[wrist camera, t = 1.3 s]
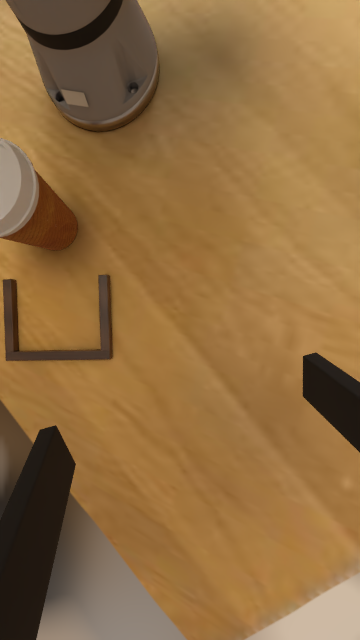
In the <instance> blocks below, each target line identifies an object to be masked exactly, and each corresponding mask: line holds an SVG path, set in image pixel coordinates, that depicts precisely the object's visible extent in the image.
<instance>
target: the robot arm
mask: <svg viewBox="0 0 360 640" xmlns="http://www.w3.org/2000/svg"><path fill="white" fill-rule="evenodd" d="M6 1H7V3H8V5H9V6H10V8H11V9H12V11H13V12H14V14H15V15H16V17H17V19H18V20H19V22H20V23H21V25H22V27H23V28H24V30H25V32H26V33H27V36H28V39H29V42H30V45H31V48H32V51H33V54H34V57H35V59H36V62H37V65H38V68H39V71H40V74H41V77H42V80H43V83H44V86H45V88H46V90H47V92H48V94H49V96H50V98H51V99H52V101H53V102H54V104H55V105H56V107H57V108H58V110H59V111H60V112H61V113H62V115H63V116H64V117H65V118H66V119H67V120H69V121H70V122H71V123H73V124H74V125H76V126H78V127H81V128H83V129H87V130H91V131H108V130H113V129H116V128H119V127H121V126H124V125H126V124H127V123H129V122H131V121H132V120H133V119H135V118H136V117H137V116H138V115H139V114H140V113H141V112H142V111H143V110H144V109H145V108H146V106H147V105H148V103H149V102H150V100H151V98H152V96H153V94H154V92H155V90H156V86H157V83H158V78H159V59H158V53H157V47H156V42H155V38H154V35H153V32H152V30H151V28H150V25H149V23H148V21H147V19H146V17H145V15H144V13H143V11H142V9H141V7H140V5H139V3H138V1H137V0H6ZM303 397H304V398H305V399H306V400H307V401H308V402H309V403H310V404H311V405H312V406H313V407H314V408H315V409H316V410H317V411H318V412H319V413H320V414H321V415H322V416H323V417H324V418H325V419H326V420H327V421H328V422H329V423H330V424H332V425H333V426H334V427H335V428H336V429H337V430H338V431H339V432H340V433H341V434H342V435H343V436H344V437H345V438H346V439H347V440H348V441H349V442H350V443H351V444H352V445H353V446H354V447H355V448H356V449H357V450H358V451H359V452H360V382H359V381H357V380H356V379H354V378H353V377H351V376H350V375H348V374H347V373H345V372H344V371H342V370H341V369H340V368H338V367H337V366H335V365H334V364H332V363H331V362H329V361H328V360H326V359H325V358H323V357H322V356H320V355H319V354H318V353H312V354H309V355H305V356H303ZM75 465H76V464H75V462H74V460H73V458H72V456H71V454H70V452H69V450H68V448H67V446H66V444H65V442H64V440H63V438H62V436H61V434H60V432H59V430H58V428H57V426H52V427H48V428H45V429H41V430H40V431H39V433H38V435H37V438H36V440H35V442H34V445H33V447H32V449H31V451H30V454H29V456H28V458H27V461H26V463H25V465H24V467H23V470H22V472H21V474H20V477H19V479H18V481H17V483H16V486H15V488H14V490H13V493H12V495H11V497H10V499H9V501H8V504H7V506H6V508H5V511H4V513H3V515H2V517H1V520H0V640H36V638H37V633H38V629H39V624H40V620H41V616H42V611H43V607H44V602H45V598H46V593H47V589H48V585H49V580H50V576H51V571H52V567H53V563H54V558H55V554H56V549H57V545H58V540H59V536H60V531H61V527H62V522H63V518H64V514H65V509H66V505H67V501H68V496H69V492H70V487H71V483H72V479H73V474H74V470H75Z"/></svg>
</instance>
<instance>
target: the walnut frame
mask: <svg viewBox="0 0 360 640" xmlns="http://www.w3.org/2000/svg"><path fill="white" fill-rule="evenodd" d="M98 276H99V306H100V337H101V350H44V351H19V349H18V321H17V294H16V280H12V279H7V280H3V296H4V323H5V350H6V361H14V360H91V359H111V358H112V328H111V297H110V276H109V275H98Z"/></svg>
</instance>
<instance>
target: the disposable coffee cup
mask: <svg viewBox="0 0 360 640" xmlns="http://www.w3.org/2000/svg"><path fill="white" fill-rule="evenodd" d="M77 229H78V225H77V220H76V217H75V215H74V214H73V212H72V211H71V210H70V209H69V208H68V207H67V206H66V205H65V203H64V202H63V201H62V200H61V199H60V198H59V197H58V195H57V194H56V193H55V192H54V191H53V190H52V189H51V188H50V186H49V185H48V184H47V183H46V182H45V181H44V180H43V179H42V177H41V176H40V175H39V174H38V173H37V172H36V171H35V170H34V167H33V165H32V163H31V161H30V160H29V158H28V157H27V155H26V154H25V153H24V152H23V151H22V150H21V149H20V148H19V147H18V146H17V145H15V144H14V143H12V142H10V141H8V140H5V139H2V138H0V238H3V239H7V240H11V241H15V242H20V243H24V244H29V245H33V246H37V247H41V248H46V249H49V250H62V249H64V248H66V247H68V246H69V245H70V244H71V243H72V242H73V240H74V239H75V237H76V234H77Z"/></svg>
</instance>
